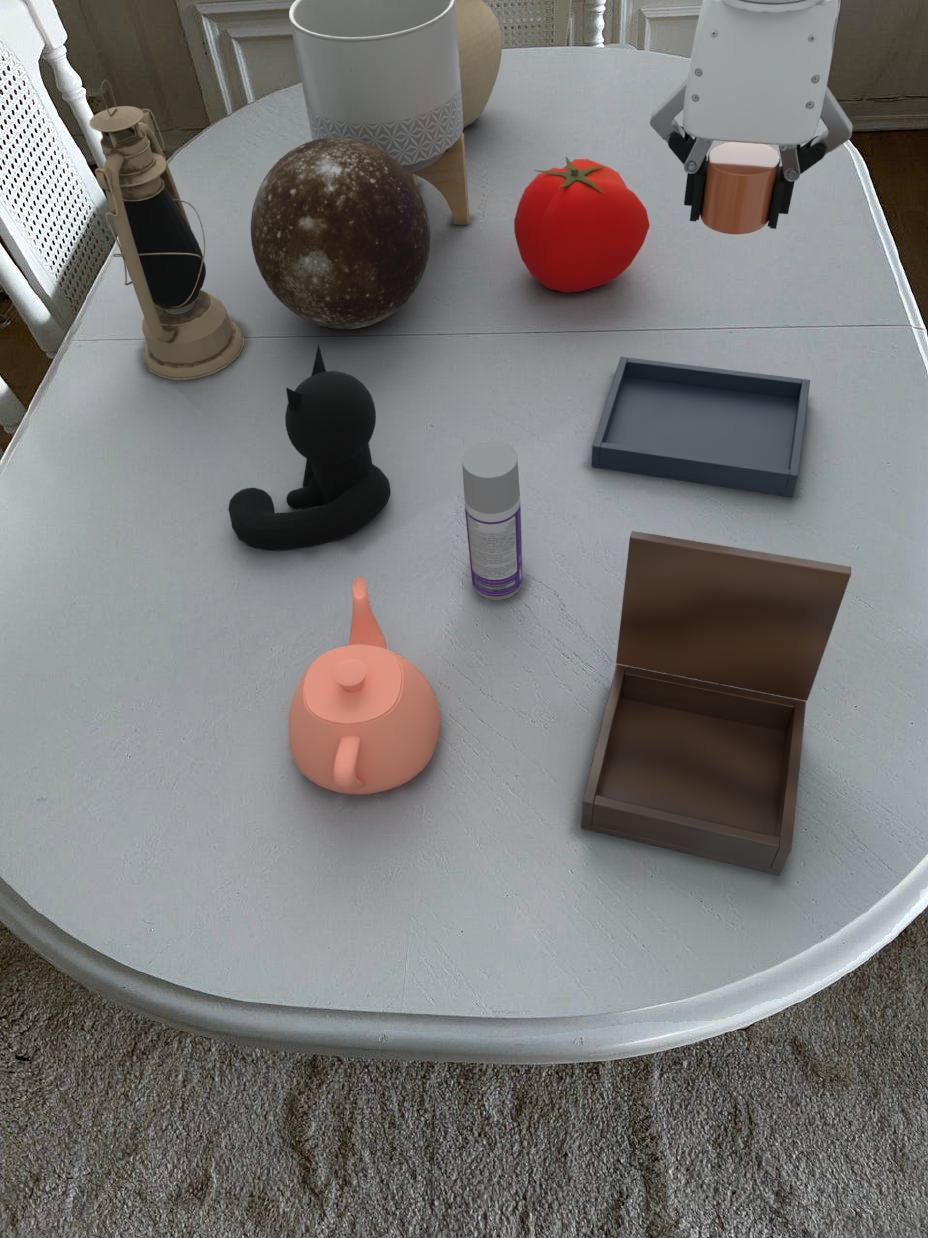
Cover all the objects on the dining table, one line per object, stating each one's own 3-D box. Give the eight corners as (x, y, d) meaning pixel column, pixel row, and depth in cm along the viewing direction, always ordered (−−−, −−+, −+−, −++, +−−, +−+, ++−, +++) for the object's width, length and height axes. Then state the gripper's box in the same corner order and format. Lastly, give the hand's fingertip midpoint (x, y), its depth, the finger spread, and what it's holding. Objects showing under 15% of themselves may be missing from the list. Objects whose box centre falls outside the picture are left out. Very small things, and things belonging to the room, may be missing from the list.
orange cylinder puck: (772, 201, 82) (783, 142, 78) (765, 237, 78) (777, 177, 75) (705, 196, 83) (713, 137, 79) (695, 231, 80) (703, 171, 76)
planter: (457, 261, 122) (439, 37, 102) (313, 257, 125) (268, 38, 105) (479, 185, 134) (467, -30, 114) (347, 183, 137) (312, -27, 116)
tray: (804, 401, 102) (810, 379, 99) (792, 497, 93) (798, 475, 91) (619, 377, 106) (620, 356, 104) (591, 467, 98) (592, 445, 95)
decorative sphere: (348, 387, 108) (315, 218, 93) (239, 321, 118) (192, 157, 102) (472, 304, 116) (460, 136, 101) (360, 249, 126) (334, 87, 110)
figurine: (304, 441, 103) (272, 320, 91) (417, 477, 98) (399, 354, 87) (214, 542, 95) (166, 422, 83) (333, 587, 90) (301, 467, 78)
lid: (851, 574, 63) (851, 566, 64) (629, 537, 67) (631, 530, 67) (807, 701, 73) (808, 693, 74) (615, 664, 77) (617, 656, 77)
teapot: (281, 830, 75) (252, 768, 67) (309, 643, 86) (287, 573, 79) (438, 828, 74) (425, 765, 67) (445, 640, 85) (435, 569, 78)
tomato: (502, 300, 116) (498, 190, 106) (534, 239, 124) (533, 131, 114) (630, 318, 113) (639, 205, 102) (655, 254, 120) (666, 143, 110)
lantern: (168, 309, 120) (76, 48, 97) (259, 313, 118) (188, 47, 95) (124, 384, 111) (11, 116, 88) (222, 389, 110) (134, 117, 86)
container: (488, 555, 91) (479, 432, 79) (531, 572, 89) (529, 449, 78) (462, 588, 89) (449, 467, 77) (507, 607, 87) (500, 486, 75)
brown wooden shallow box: (779, 875, 70) (791, 850, 67) (580, 828, 73) (582, 801, 70) (795, 730, 77) (806, 701, 74) (613, 693, 81) (616, 663, 77)
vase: (457, 86, 154) (440, -148, 130) (527, 119, 145) (523, -126, 122) (372, 123, 148) (339, -116, 124) (440, 160, 139) (419, -90, 116)
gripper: (908, -49, 67) (844, 202, 81) (658, -56, 71) (639, 185, 85) (906, -6, 62) (839, 251, 77) (640, -16, 66) (623, 230, 81)
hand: (734, 214), depth 81 cm, fingers closed on orange cylinder puck, 5 cm apart
